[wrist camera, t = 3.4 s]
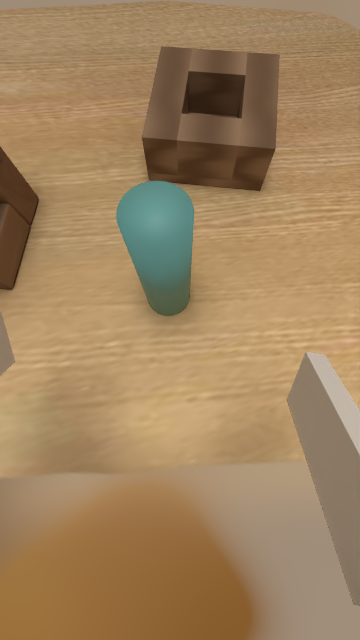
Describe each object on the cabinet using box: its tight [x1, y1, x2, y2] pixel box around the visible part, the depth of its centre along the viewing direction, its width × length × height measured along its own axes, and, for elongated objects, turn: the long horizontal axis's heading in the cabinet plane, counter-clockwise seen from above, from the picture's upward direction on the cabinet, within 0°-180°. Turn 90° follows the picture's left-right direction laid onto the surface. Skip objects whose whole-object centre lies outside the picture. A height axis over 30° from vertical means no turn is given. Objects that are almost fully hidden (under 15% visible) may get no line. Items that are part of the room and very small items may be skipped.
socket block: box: [142, 47, 279, 191], centre depth 27 cm, size 12×12×5 cm
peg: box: [117, 181, 194, 316], centre depth 19 cm, size 4×4×12 cm
